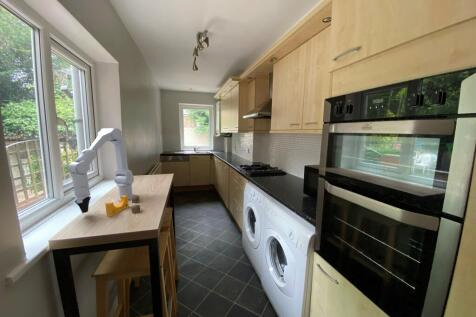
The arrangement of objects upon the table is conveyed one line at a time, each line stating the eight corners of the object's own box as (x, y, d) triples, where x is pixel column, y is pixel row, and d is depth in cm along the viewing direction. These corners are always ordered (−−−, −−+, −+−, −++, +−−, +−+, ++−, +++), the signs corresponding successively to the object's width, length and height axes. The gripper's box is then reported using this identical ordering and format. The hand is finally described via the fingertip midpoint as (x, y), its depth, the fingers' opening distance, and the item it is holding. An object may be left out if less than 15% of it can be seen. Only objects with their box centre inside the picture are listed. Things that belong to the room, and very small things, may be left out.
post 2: (131, 211, 100) (131, 205, 99) (140, 209, 101) (139, 204, 101) (131, 213, 96) (131, 208, 96) (140, 212, 98) (140, 206, 98)
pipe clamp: (121, 206, 107) (120, 195, 106) (128, 206, 106) (127, 195, 105) (103, 215, 95) (102, 203, 94) (111, 216, 94) (109, 203, 93)
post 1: (131, 201, 113) (131, 196, 113) (139, 200, 115) (138, 195, 115) (131, 203, 110) (131, 198, 110) (139, 202, 112) (139, 197, 111)
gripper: (74, 183, 97) (78, 208, 99) (66, 191, 85) (70, 220, 87) (91, 181, 101) (95, 206, 103) (85, 188, 88) (89, 216, 90)
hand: (85, 212), depth 95 cm, fingers closed
